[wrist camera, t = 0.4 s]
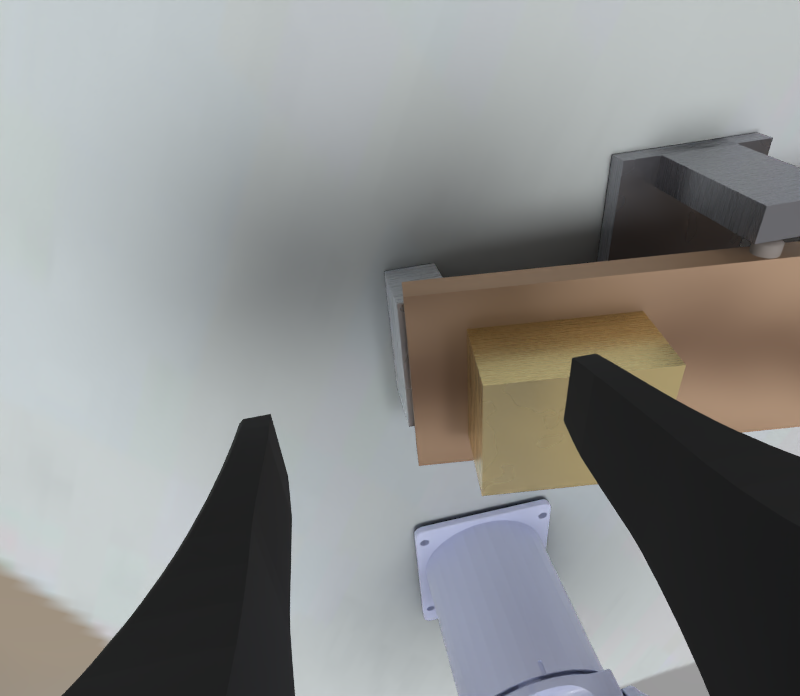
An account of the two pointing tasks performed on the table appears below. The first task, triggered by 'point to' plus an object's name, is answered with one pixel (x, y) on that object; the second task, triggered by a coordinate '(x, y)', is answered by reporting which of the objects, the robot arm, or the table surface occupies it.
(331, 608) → the table surface
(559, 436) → the block
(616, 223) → the stand
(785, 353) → the beam
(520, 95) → the table surface
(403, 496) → the table surface
